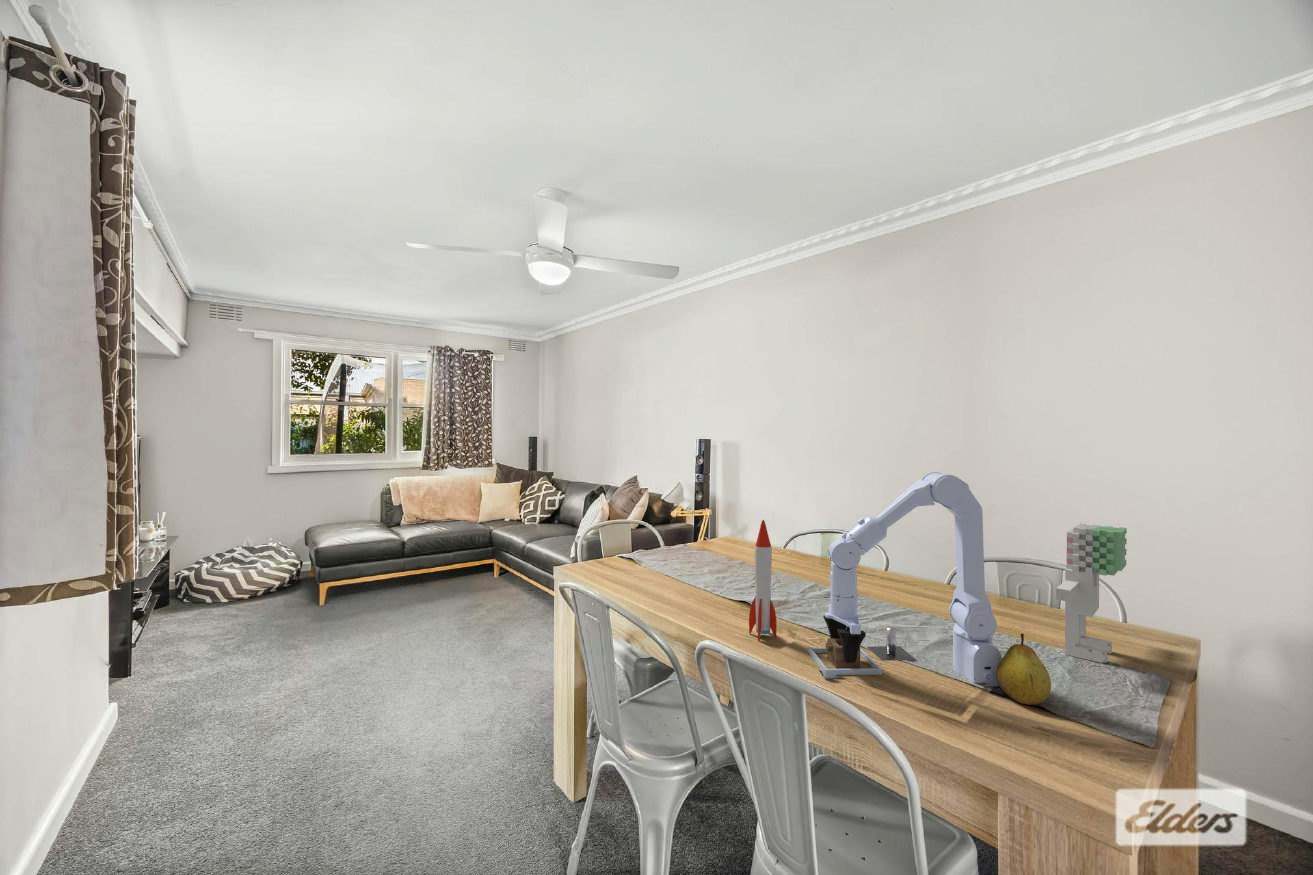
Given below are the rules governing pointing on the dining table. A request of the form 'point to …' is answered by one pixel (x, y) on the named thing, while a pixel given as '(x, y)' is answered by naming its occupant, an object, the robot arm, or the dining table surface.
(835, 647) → the collar
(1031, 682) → the fruit
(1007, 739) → the dining table surface
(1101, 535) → the toy
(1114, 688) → the dining table surface
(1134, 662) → the dining table surface
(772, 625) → the toy rocket
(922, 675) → the dining table surface
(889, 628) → the post
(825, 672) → the grey rectangular frame
